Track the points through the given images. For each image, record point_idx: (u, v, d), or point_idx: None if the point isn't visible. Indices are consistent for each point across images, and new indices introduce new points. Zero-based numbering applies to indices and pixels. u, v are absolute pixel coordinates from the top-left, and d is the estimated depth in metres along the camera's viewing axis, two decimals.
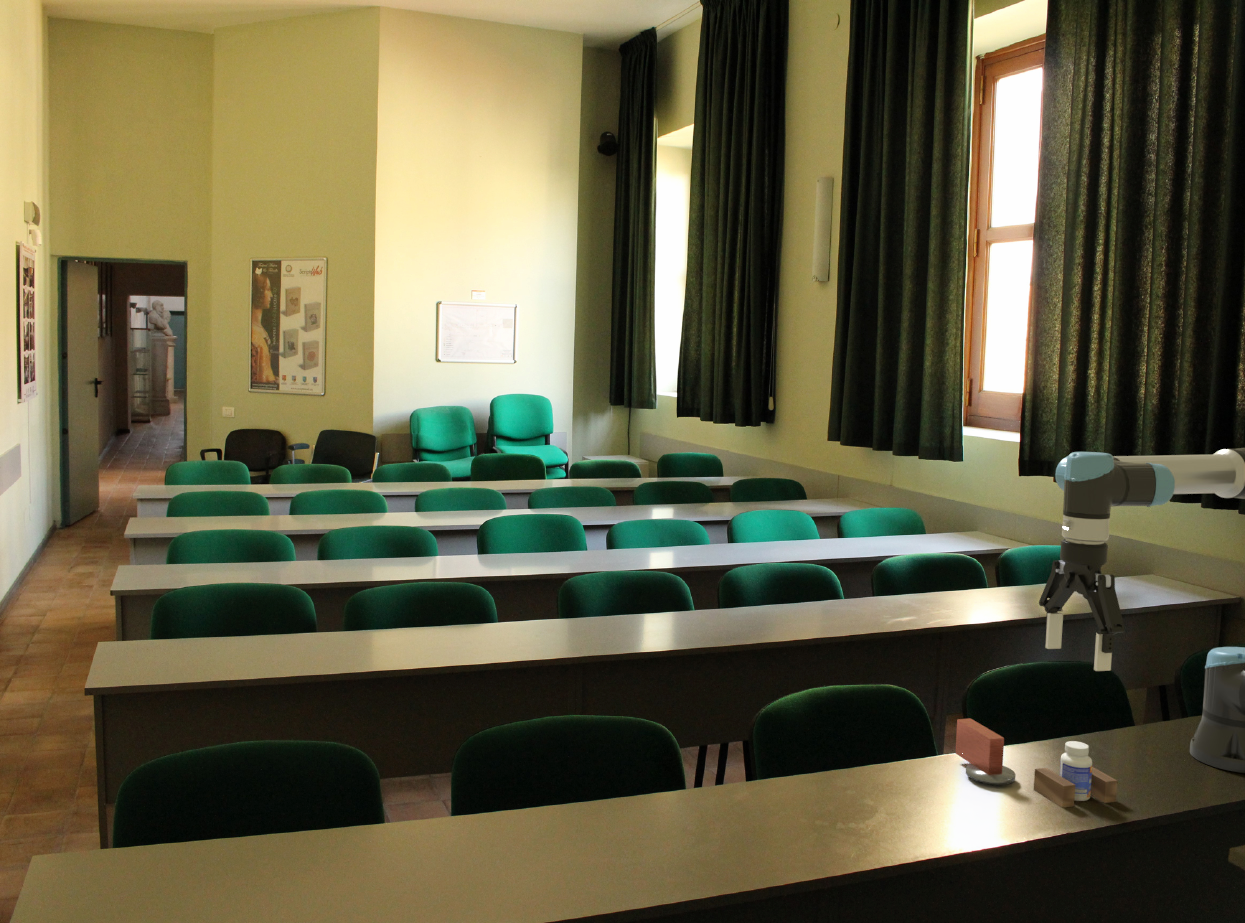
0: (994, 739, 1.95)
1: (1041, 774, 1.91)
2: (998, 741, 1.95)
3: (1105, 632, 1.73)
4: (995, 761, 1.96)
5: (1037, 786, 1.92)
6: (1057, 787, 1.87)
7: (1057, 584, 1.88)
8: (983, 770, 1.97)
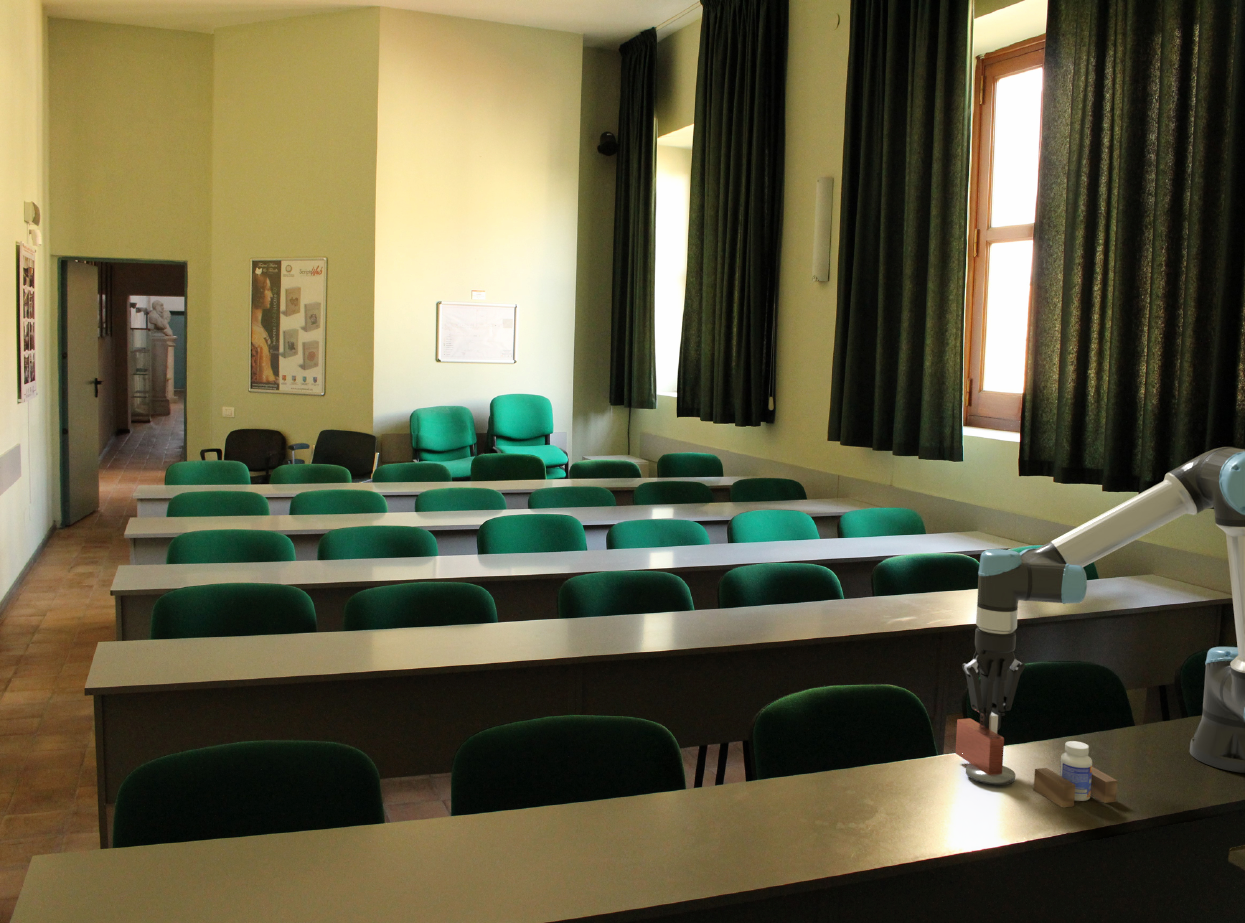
0: (994, 739, 1.95)
1: (1041, 774, 1.91)
2: (998, 741, 1.95)
3: None
4: (995, 761, 1.96)
5: (1037, 786, 1.92)
6: (1057, 787, 1.87)
7: (1009, 682, 2.03)
8: (983, 770, 1.97)
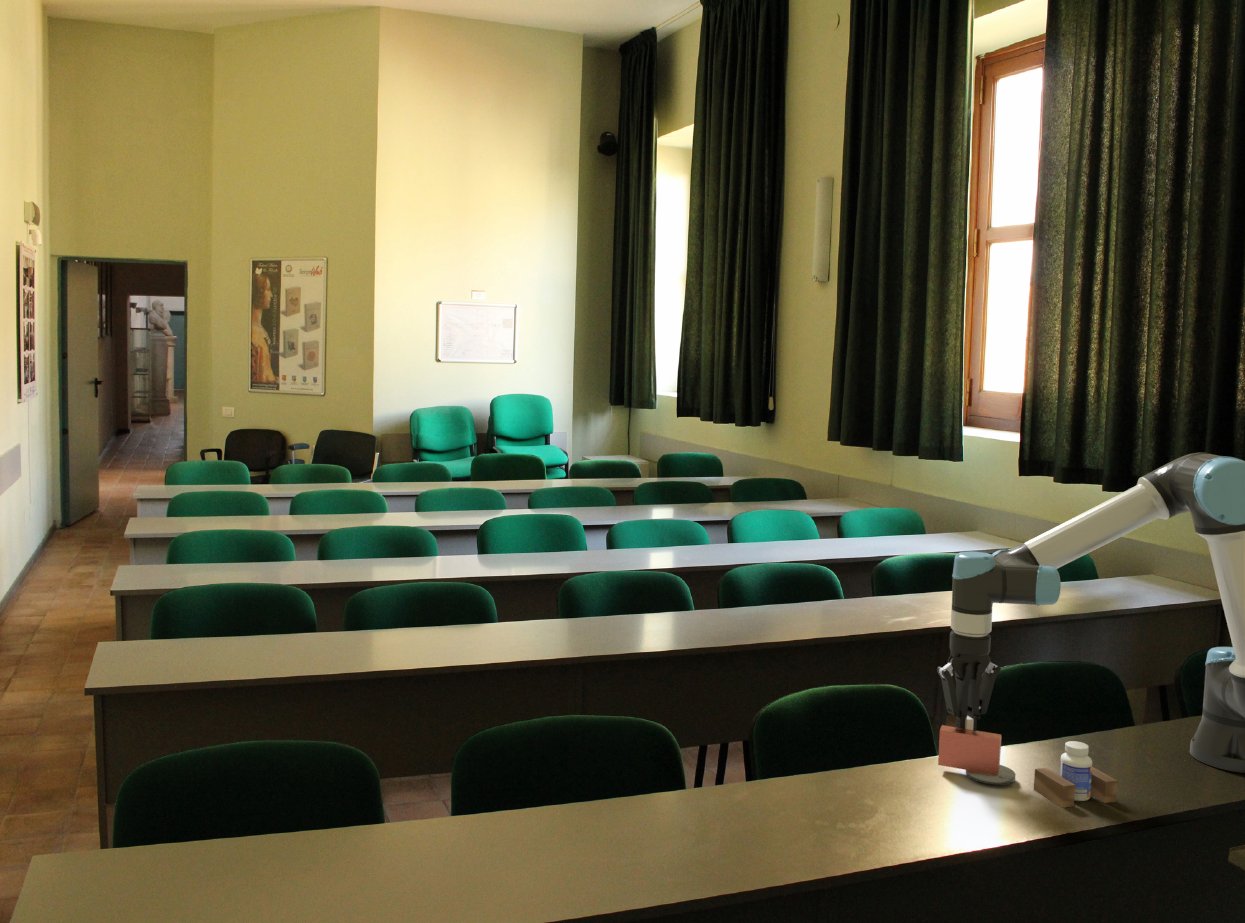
0: (1000, 738, 1.96)
1: (1041, 774, 1.91)
2: (1000, 739, 1.96)
3: None
4: (999, 760, 1.96)
5: (1037, 786, 1.92)
6: (1057, 787, 1.87)
7: (984, 685, 2.02)
8: (989, 772, 1.96)
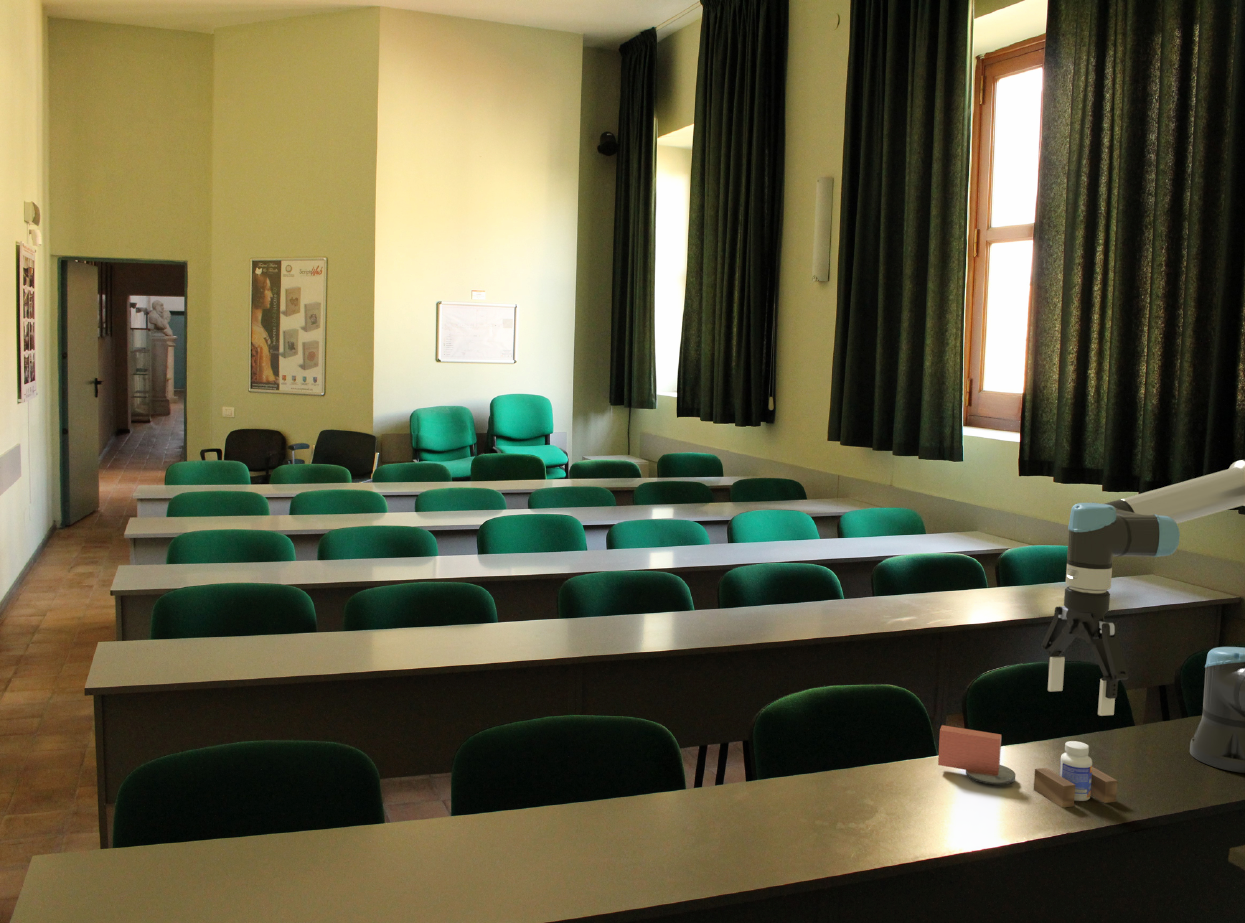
0: (1000, 738, 1.96)
1: (1041, 774, 1.91)
2: (1000, 739, 1.96)
3: (1109, 679, 1.80)
4: (999, 760, 1.96)
5: (1037, 786, 1.92)
6: (1057, 787, 1.87)
7: (1059, 629, 1.94)
8: (989, 772, 1.96)
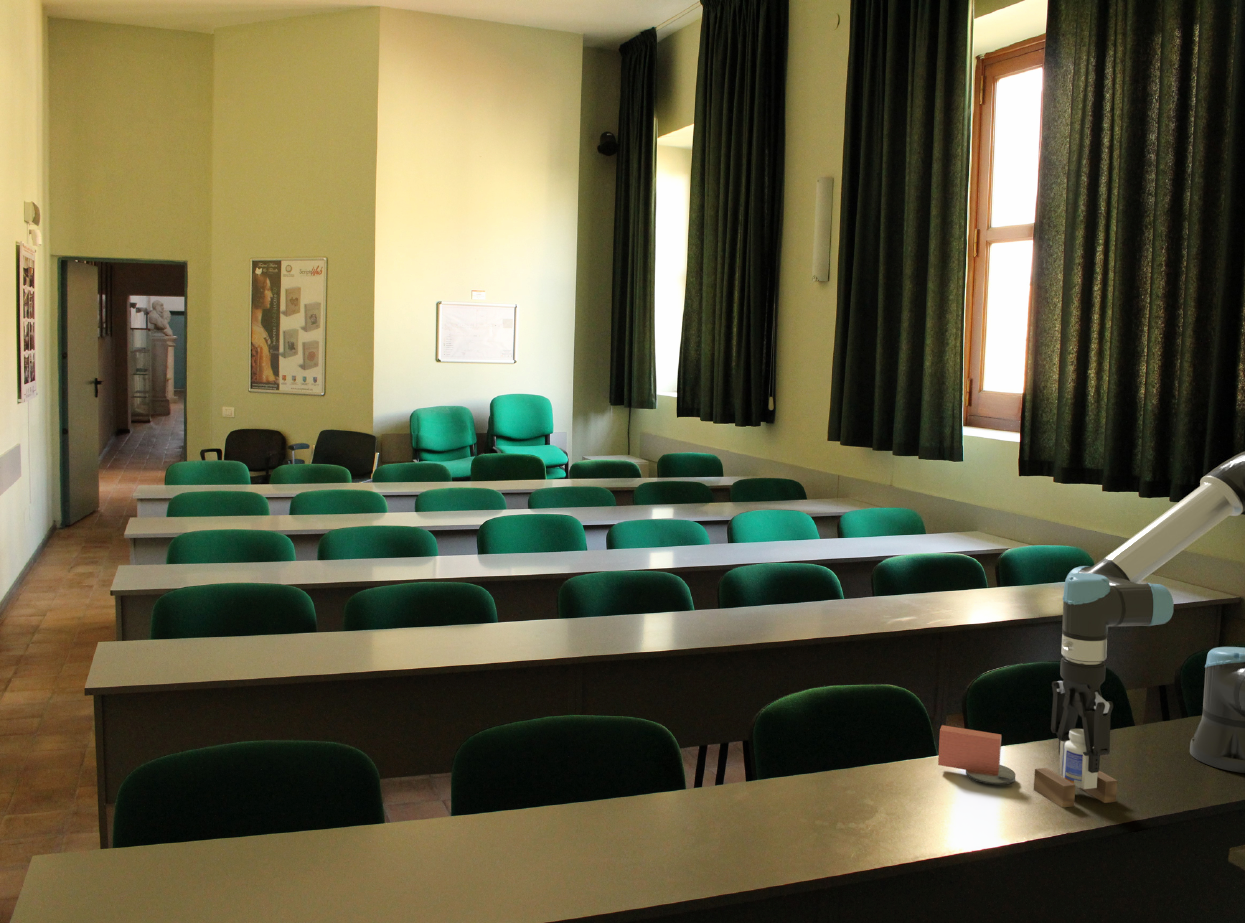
0: (1000, 738, 1.96)
1: (1041, 774, 1.91)
2: (1000, 739, 1.96)
3: (1091, 754, 1.85)
4: (999, 760, 1.96)
5: (1037, 786, 1.92)
6: (1057, 787, 1.87)
7: (1063, 706, 1.94)
8: (989, 772, 1.96)
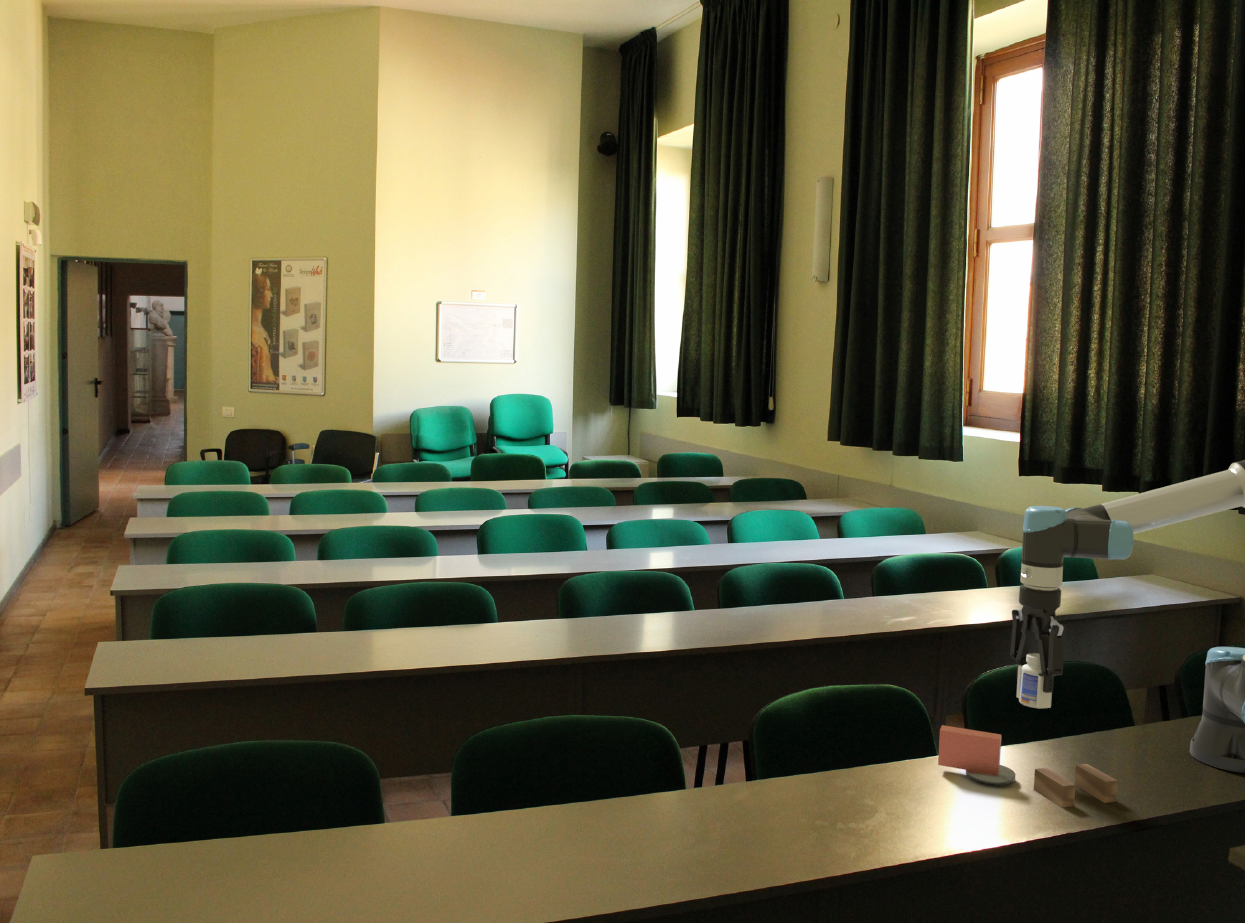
0: (1000, 738, 1.96)
1: (1041, 774, 1.91)
2: (1000, 739, 1.96)
3: (1045, 675, 1.97)
4: (999, 760, 1.96)
5: (1037, 786, 1.92)
6: (1057, 787, 1.87)
7: (1021, 633, 2.06)
8: (989, 772, 1.96)
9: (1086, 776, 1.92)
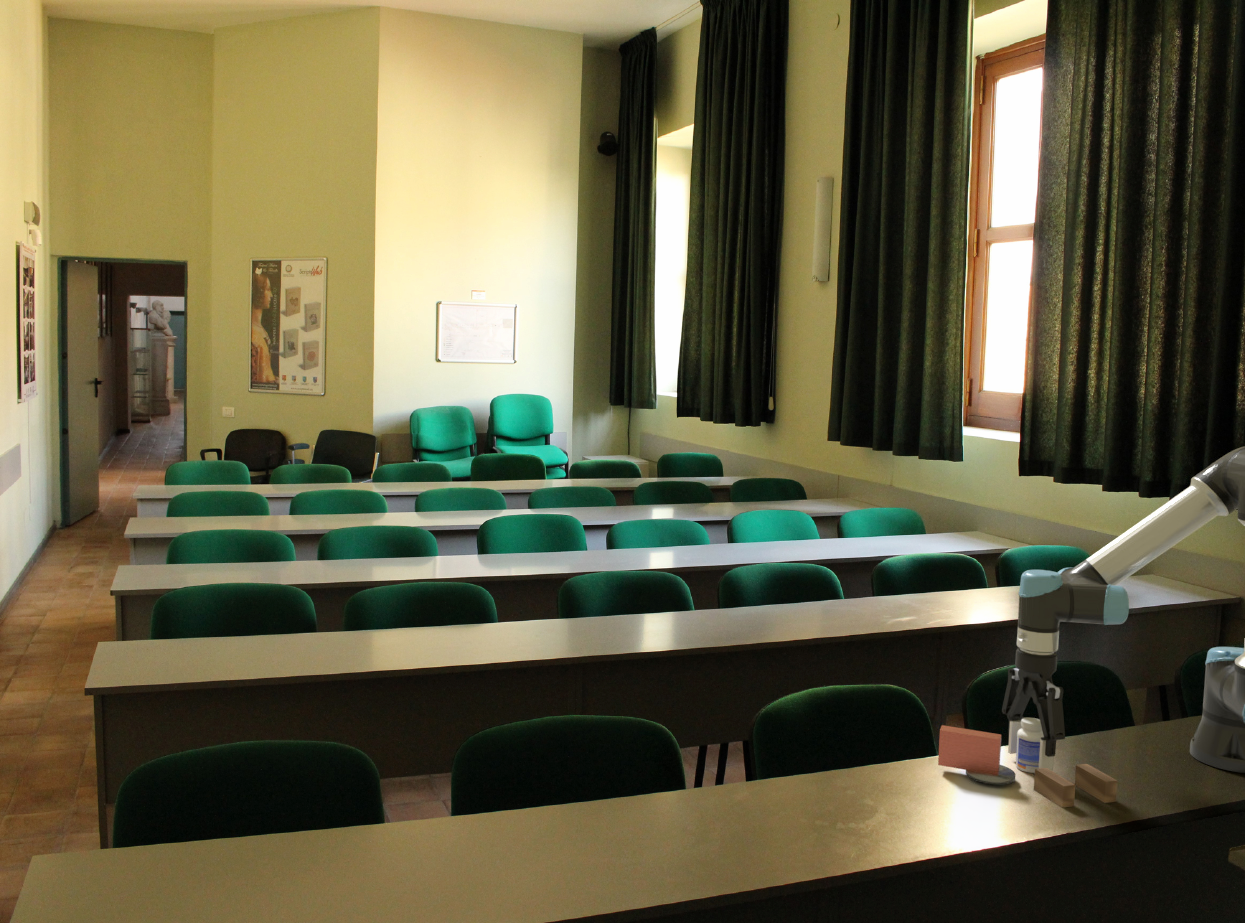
0: (1000, 738, 1.96)
1: (1041, 774, 1.91)
2: (1000, 739, 1.96)
3: (1048, 739, 1.96)
4: (999, 760, 1.96)
5: (1037, 786, 1.92)
6: (1057, 787, 1.87)
7: (1015, 691, 2.08)
8: (989, 772, 1.96)
9: (1086, 776, 1.92)
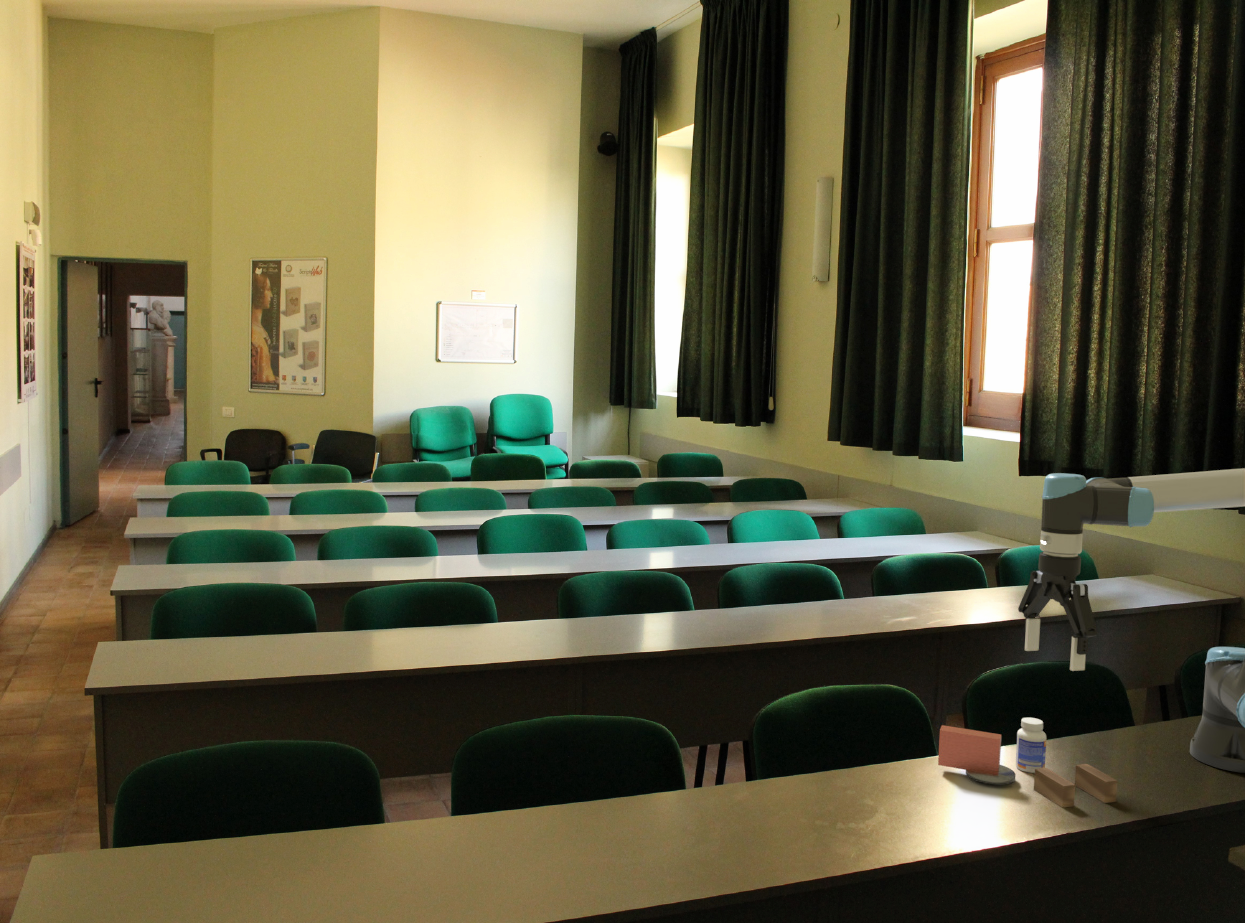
0: (1000, 738, 1.96)
1: (1041, 774, 1.91)
2: (1000, 739, 1.96)
3: (1080, 636, 1.93)
4: (999, 760, 1.96)
5: (1037, 786, 1.92)
6: (1057, 787, 1.87)
7: (1035, 592, 2.08)
8: (989, 772, 1.96)
9: (1086, 776, 1.92)
